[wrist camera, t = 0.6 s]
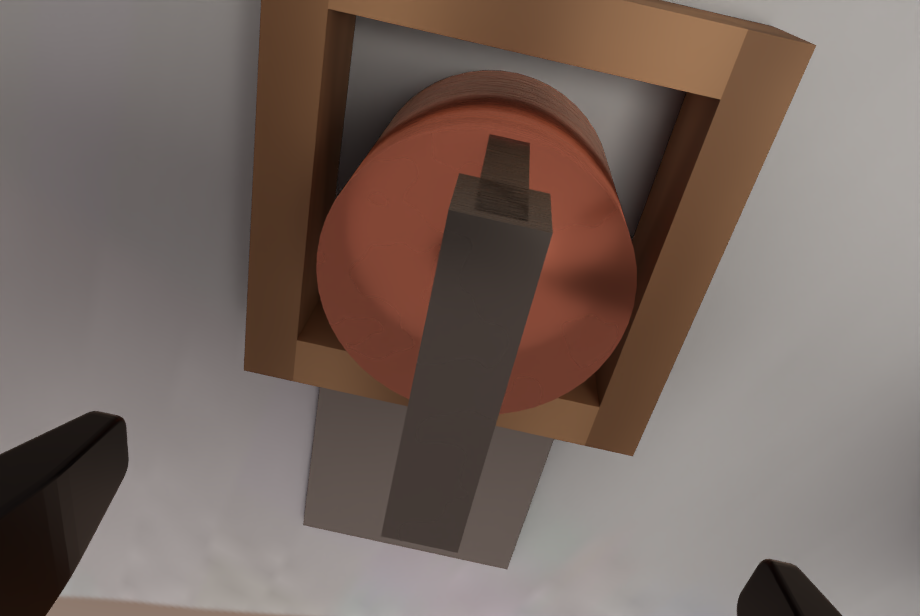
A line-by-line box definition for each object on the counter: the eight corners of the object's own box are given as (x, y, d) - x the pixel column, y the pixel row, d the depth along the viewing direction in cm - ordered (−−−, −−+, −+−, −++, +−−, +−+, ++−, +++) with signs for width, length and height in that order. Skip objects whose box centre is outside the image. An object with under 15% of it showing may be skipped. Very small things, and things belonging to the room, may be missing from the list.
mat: (563, 402, 23) (564, 409, 23) (507, 561, 28) (507, 568, 27) (326, 350, 23) (323, 356, 23) (306, 517, 28) (303, 524, 27)
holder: (773, 26, 17) (816, 45, 14) (621, 395, 23) (632, 456, 20) (306, -83, 17) (265, -84, 14) (276, 319, 23) (244, 370, 20)
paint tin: (643, 102, 18) (745, 270, 9) (570, 318, 22) (596, 586, 13) (390, 43, 18) (256, 159, 9) (358, 270, 22) (238, 509, 13)
